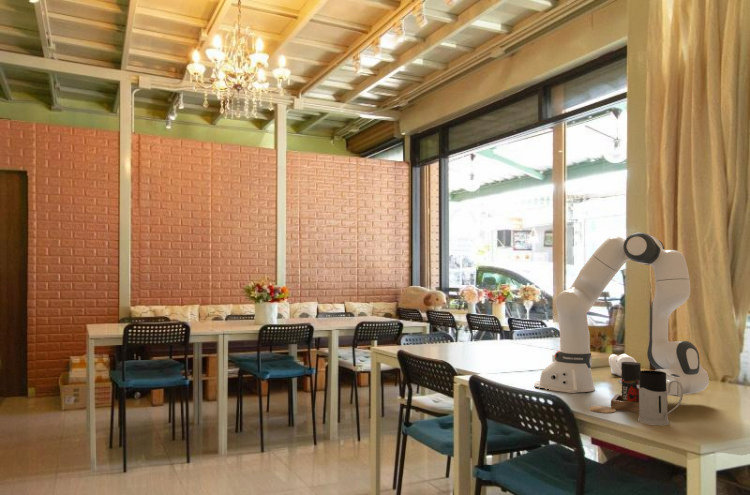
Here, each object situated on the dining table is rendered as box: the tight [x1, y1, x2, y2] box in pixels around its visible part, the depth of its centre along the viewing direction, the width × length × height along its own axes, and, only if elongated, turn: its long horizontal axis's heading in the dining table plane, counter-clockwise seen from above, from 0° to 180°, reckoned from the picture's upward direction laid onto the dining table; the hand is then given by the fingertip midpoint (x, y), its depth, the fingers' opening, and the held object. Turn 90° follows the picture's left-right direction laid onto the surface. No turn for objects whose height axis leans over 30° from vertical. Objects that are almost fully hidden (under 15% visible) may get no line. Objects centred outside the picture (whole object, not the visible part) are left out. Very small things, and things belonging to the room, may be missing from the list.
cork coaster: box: [589, 405, 616, 414], centre depth 196 cm, size 8×8×1 cm
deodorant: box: [621, 361, 642, 403], centre depth 199 cm, size 6×6×15 cm
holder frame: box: [610, 393, 639, 414], centre depth 199 cm, size 11×11×3 cm
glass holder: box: [637, 369, 684, 426], centre depth 180 cm, size 9×14×15 cm, turn 28°
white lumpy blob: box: [608, 353, 638, 378], centre depth 260 cm, size 11×12×9 cm
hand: (628, 384), depth 199 cm, fingers open, 8 cm apart
